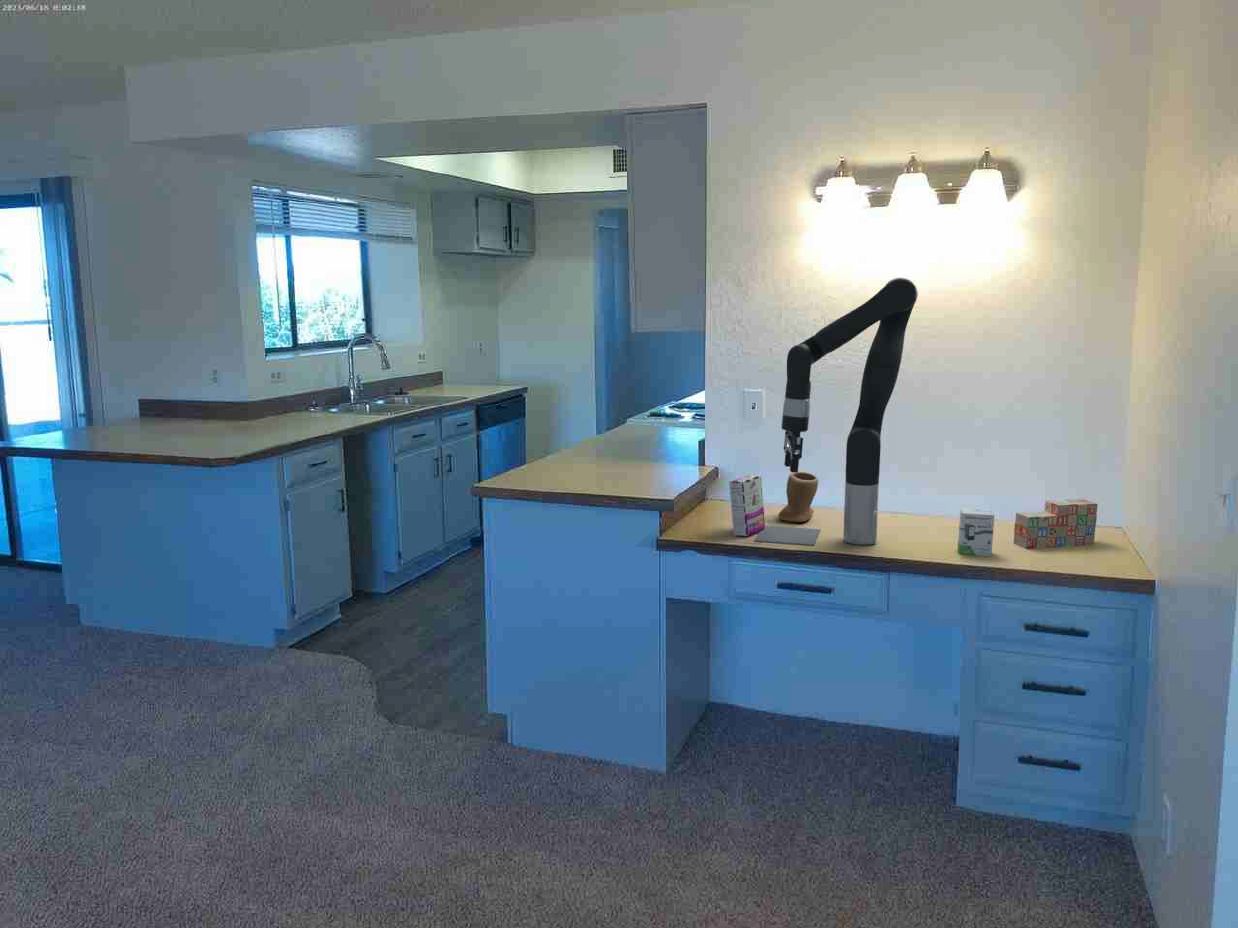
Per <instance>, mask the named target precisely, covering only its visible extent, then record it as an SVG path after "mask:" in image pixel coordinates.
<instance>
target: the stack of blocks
mask: <svg viewBox="0 0 1238 928" xmlns="http://www.w3.org/2000/svg"><path fill="white" fill-rule="evenodd" d="M1097 511H1098V503H1096V502H1094V501H1091V500H1088V499H1084V498H1080V499H1079V498H1078V499H1074V498H1065V499H1053V500H1045V501H1044V510H1042V511H1041V510H1039V511H1038V510H1037V511H1035V510H1034V511H1017V512H1015V523H1014V530H1013V531H1014V533H1013V544H1014V545H1017V546H1020V547H1021V548H1024V549H1027V550H1028V549H1044V548H1045V549H1046V548H1048V549H1049V548H1051V549H1052V548H1065V547H1081V546H1082V547H1083V546H1085V547H1086V546H1094V545H1095V538H1096V537H1095V535H1096V527H1097V526H1096V525H1097V518H1098V513H1097Z"/></svg>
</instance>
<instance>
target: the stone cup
mask: <svg viewBox="0 0 1238 928" xmlns="http://www.w3.org/2000/svg"><path fill="white" fill-rule="evenodd" d="M818 485H819V477H818V476H816V475H814V474H812V473H810V472H806V471H800V470H798V472H790V474H789V475H788V478H787V482H786V498H787V505H786V506H784V507H783V508H782V509H781V511H780V512H779V513H777V514H778V516H777V517H778V519H780V520H782V521H787V522H793V523H795V522H796V523H798V522H799V523H801V522H802V523H803V522H807V521H808V520H809V519H810V518H811V517H812V515H814V512H815V510H814V509H813V508H811V506H812V502H813V501H814V499H815V496H816V493H817V491H818Z"/></svg>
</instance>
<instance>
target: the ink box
mask: <svg viewBox="0 0 1238 928" xmlns="http://www.w3.org/2000/svg"><path fill="white" fill-rule="evenodd" d="M994 527H995V513H994V511H993V510H988V509H987V510H986V509H974V508H973V509H972V508H962V509H960V514H959V526H958V539H957V553H958V554H959V555H964V556H965V555H967V556H968V555H970V556H980V557H981V556H982V557H992V553H993V540H994Z"/></svg>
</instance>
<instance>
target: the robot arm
mask: <svg viewBox="0 0 1238 928" xmlns="http://www.w3.org/2000/svg"><path fill="white" fill-rule="evenodd" d="M918 296H919V292H918V288H917V285H916V284H915V282H914V281H912V280H911V279H909V278H907V277H903V276H902V277H901V276H898V277H895V278H892V279H890V280H889V281H887V283H886V284H885V285H884V286H883V287H882V288H881V289H880V290H879V291H878V292H877V293H875V295H873V296H872V297H870V299H868V300H867V301H866V302H864V303H862V304H861V305H859V306H858V307H856V308H855V309H852V310H851V311H849V312H848V313H846V314H844V315H843V316H841V317H839V318H837V319H835V320H834V321H832V322H830V323H829V324H827V325H825V326H824V327H823V328H821V329H819V331H817V332H816V333H815V334H814V335H812V336H811V337H809V338H807V339H805V340H803V341H802V342H799V344H796V345H794V346H792V347H791V348H790V349H789V351H788V352H787V356H786V384H785V385H786V386H785V394H784V402H783V407H782V418H781V429H782V431H784V442H783V450H784V453H785V455H784V466H785V467H787V468H788V467H789V471H790V473H793V472H798V471H799V465H800V459H802V458H803V443H804V437H801V433H805V432H806V433H807V432H808V430H809V421H810V420H809V419H810V409H811V403H810V401H811V391H812V384H811V370H812V365H813V364H815V363H816V362H818V361H819V360H821V359H822V358H823V357H824V356H826V355H828V354H830V353H832V352H834V351H836V350H838V349H839V348H841V347H842V346H844V345H845V344H848V343H849V342H850V341H852V340H853V339H855V338H856V337H857V336H859V335H860V334H861V333H863V332H864V331H865V330H867V329H868V328H870V327H872V326H873V325H874V324H876V323H878V322H879V325H878V328H877V331H876V334H875V335H874V338H873V340H872V343H871V345H870V348H869V351H868V354H867V357H866V361H865V364H864V370H863V373H862V379H861V385H860V394H859V395H860V396H859V401H858V402H859V405H858V409H857V412H856V415H855V418H854V421H853V424H852V427H851V429H850V431H849V433H848V436H847V438H846V439H847V440H846V453H845V486H844V506H843V507H844V508H843V510H844V511H843V512H844V513H843V532H842V533H843V536H842V537H843V539H842V540H843V542H845V543H849V544H853V545H862V546H863V545H865V546H866V545H876V544H877V537H878V515H879V508H878V503H879V483H880V465H881V444H882V443H881V434H882V427H883V421H884V417H885V413H886V409H887V406H888V405H889V402H890V399H891V397H892V394H893V391H894V389H895V387H896V383H897V380H898V375H899V371H900V368H901V363H902V357H903V353H904V352H903V350H904V344H905V343H904V342H905V336H906V335H905V334H906V330H907V327H908V323H909V320H910V317H911V313H912V311H913V309H914V306H915V304H916V303H917V300H918Z"/></svg>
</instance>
